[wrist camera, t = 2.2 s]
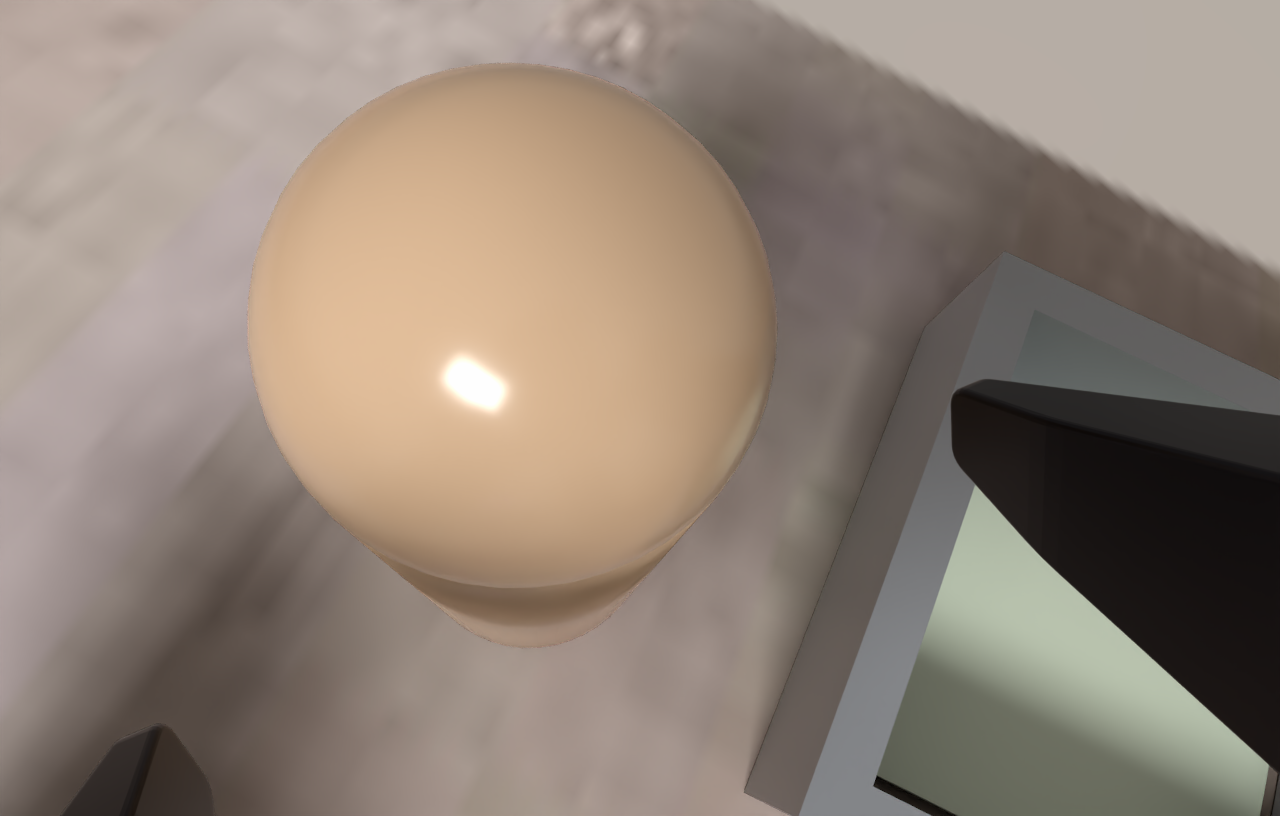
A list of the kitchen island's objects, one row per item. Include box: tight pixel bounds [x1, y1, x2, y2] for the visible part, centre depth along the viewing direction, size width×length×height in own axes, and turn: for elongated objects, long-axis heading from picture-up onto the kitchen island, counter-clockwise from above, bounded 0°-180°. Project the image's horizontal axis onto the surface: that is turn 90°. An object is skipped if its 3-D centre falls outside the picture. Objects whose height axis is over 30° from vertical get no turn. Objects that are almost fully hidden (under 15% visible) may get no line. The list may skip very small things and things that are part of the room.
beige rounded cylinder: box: [247, 63, 778, 648], centre depth 13 cm, size 5×5×14 cm
